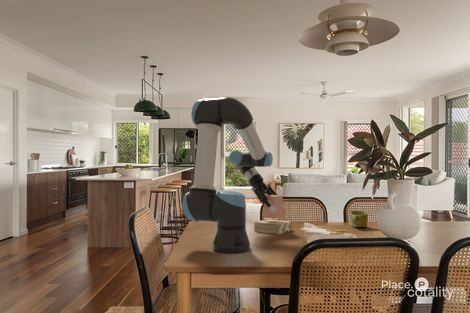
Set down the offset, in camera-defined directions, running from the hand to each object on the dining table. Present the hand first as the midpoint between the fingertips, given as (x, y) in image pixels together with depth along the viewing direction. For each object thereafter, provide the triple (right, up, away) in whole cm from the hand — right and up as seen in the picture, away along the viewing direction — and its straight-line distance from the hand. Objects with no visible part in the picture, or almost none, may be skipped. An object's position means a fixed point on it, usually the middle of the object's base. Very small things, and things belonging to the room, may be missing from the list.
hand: (278, 210), depth 180 cm
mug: (+44, -11, +11) cm, 47 cm away
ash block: (-3, -11, +2) cm, 12 cm away
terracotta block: (-3, -4, +2) cm, 5 cm away
